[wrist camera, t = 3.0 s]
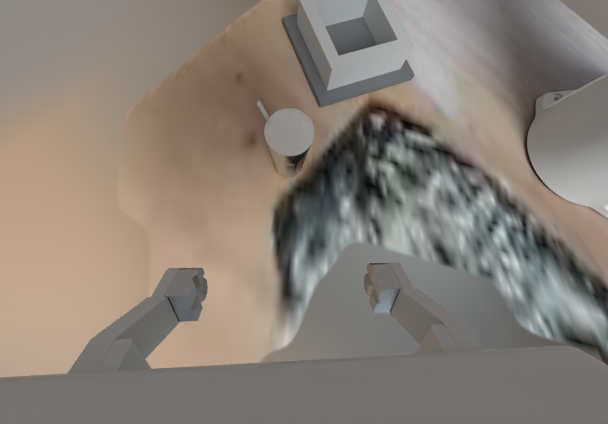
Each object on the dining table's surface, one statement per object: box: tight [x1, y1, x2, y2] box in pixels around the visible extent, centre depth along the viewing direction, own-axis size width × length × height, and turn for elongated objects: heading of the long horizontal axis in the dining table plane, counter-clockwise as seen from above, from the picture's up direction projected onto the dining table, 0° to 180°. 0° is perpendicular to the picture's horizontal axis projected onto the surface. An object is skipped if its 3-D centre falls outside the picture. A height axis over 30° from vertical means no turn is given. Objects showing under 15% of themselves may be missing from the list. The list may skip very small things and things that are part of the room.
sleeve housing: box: [283, 0, 414, 107], centre depth 31 cm, size 14×14×4 cm
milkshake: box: [257, 99, 314, 178], centre depth 24 cm, size 5×5×10 cm
